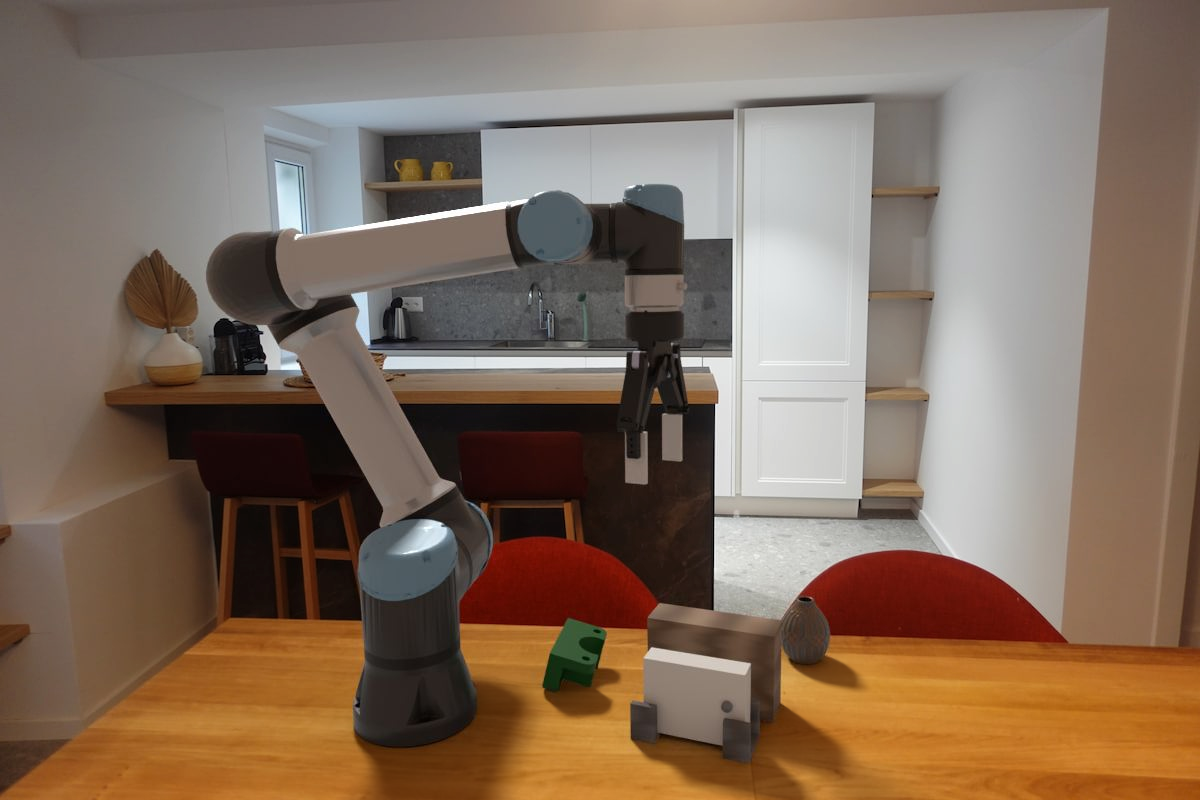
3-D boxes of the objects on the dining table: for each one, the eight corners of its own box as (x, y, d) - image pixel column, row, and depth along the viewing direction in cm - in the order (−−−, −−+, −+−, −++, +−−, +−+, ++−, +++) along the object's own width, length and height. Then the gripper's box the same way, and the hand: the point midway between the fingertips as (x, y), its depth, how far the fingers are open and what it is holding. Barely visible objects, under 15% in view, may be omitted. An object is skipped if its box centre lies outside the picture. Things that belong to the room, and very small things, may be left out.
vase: (770, 651, 117) (771, 593, 116) (812, 644, 119) (813, 587, 118) (795, 672, 110) (796, 611, 109) (839, 665, 112) (840, 604, 111)
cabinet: (622, 736, 96) (621, 648, 94) (660, 681, 109) (659, 603, 107) (758, 765, 90) (759, 671, 88) (780, 702, 103) (781, 620, 101)
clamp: (581, 720, 107) (590, 677, 102) (538, 707, 108) (545, 663, 103) (603, 651, 117) (612, 608, 112) (564, 639, 118) (571, 596, 113)
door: (642, 731, 95) (641, 659, 94) (652, 717, 99) (651, 647, 97) (743, 752, 91) (744, 677, 90) (750, 736, 94) (750, 663, 93)
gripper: (647, 313, 91) (648, 497, 94) (710, 305, 114) (709, 454, 117) (586, 313, 94) (590, 491, 97) (660, 305, 117) (660, 450, 120)
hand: (655, 471), depth 107 cm, fingers open, 13 cm apart
